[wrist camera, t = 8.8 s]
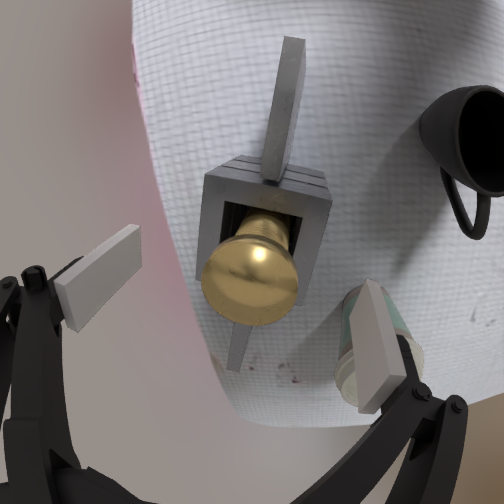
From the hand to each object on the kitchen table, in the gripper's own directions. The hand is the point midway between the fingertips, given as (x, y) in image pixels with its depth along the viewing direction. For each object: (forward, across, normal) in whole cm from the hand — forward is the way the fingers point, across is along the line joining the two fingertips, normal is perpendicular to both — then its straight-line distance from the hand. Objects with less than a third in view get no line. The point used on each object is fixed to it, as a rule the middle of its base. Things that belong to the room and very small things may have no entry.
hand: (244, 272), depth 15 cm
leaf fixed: (+14, 0, -5) cm, 14 cm away
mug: (+14, +15, +10) cm, 23 cm away
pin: (+14, 0, 0) cm, 14 cm away
